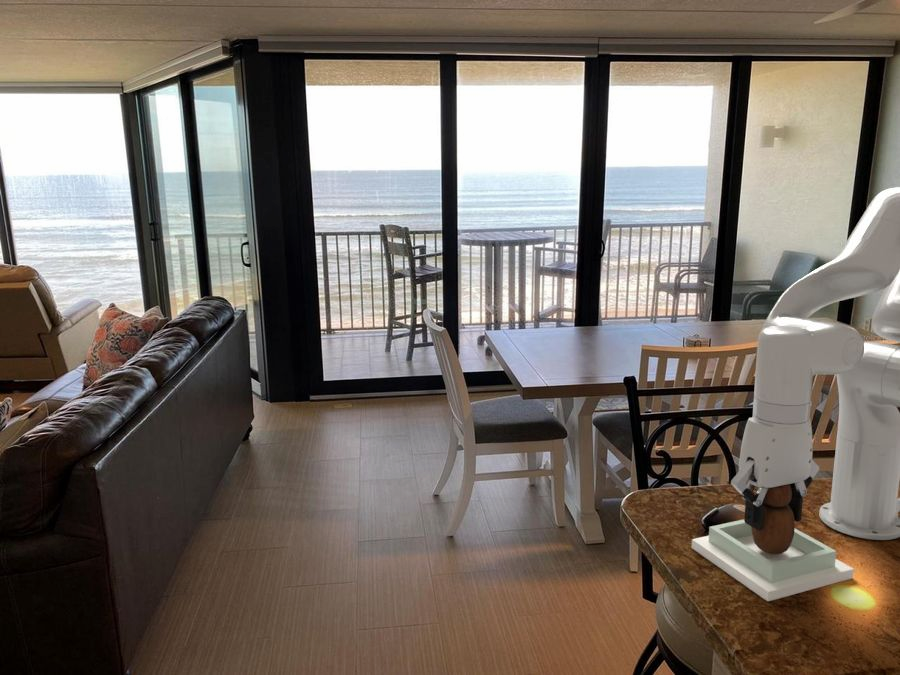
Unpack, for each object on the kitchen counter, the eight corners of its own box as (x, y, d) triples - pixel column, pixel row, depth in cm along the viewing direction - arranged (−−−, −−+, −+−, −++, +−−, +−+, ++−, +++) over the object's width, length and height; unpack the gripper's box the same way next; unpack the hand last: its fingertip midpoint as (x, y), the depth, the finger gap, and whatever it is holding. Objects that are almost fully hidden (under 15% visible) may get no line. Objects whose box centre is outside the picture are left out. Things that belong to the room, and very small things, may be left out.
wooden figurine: (797, 561, 100) (805, 466, 97) (755, 558, 102) (762, 464, 99) (784, 538, 107) (791, 449, 104) (745, 536, 108) (751, 447, 105)
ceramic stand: (769, 529, 115) (771, 508, 114) (853, 578, 100) (855, 553, 99) (691, 547, 109) (692, 525, 109) (767, 601, 95) (769, 575, 94)
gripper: (805, 396, 106) (796, 502, 110) (715, 410, 100) (709, 521, 104) (847, 409, 99) (836, 522, 103) (753, 425, 93) (745, 544, 97)
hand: (772, 521), depth 103 cm, fingers closed on wooden figurine, 6 cm apart
